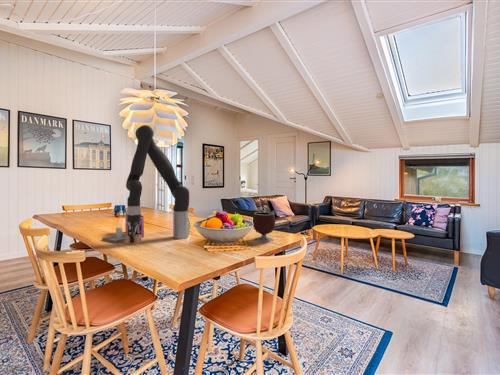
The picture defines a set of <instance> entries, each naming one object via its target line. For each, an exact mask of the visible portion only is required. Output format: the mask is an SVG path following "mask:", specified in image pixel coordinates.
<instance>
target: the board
mask: <svg viewBox="0 0 500 375" xmlns="http://www.w3.org/2000/svg"><path fill="white" fill-rule="evenodd" d="M127 235H128V234H126V233H125V234H124V233H123V228H122V226H116V227H115V234H114V235H109V236H105V237H102V241H105V242H109V243H114V244H118V243H123V242H126V236H127Z"/></svg>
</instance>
